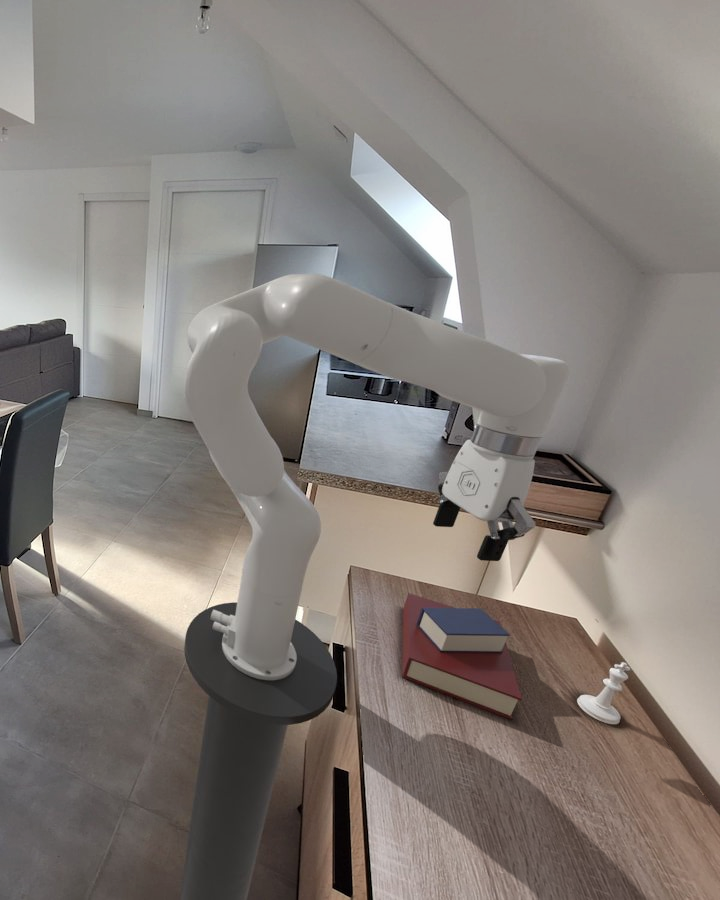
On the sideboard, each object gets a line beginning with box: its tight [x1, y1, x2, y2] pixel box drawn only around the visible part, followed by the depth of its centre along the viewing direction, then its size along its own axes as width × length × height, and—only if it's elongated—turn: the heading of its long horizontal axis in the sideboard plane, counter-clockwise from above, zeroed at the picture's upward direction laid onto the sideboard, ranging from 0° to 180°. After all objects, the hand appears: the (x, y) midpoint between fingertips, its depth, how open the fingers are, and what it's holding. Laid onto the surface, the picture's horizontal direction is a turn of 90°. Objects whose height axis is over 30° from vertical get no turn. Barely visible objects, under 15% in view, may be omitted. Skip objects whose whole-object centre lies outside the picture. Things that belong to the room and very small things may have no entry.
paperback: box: [416, 607, 511, 653], centre depth 80 cm, size 11×6×4 cm, turn 91°
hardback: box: [401, 593, 523, 721], centre depth 82 cm, size 20×15×4 cm
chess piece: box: [576, 661, 631, 725], centre depth 71 cm, size 5×5×10 cm
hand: (463, 541), depth 72 cm, fingers open, 9 cm apart
